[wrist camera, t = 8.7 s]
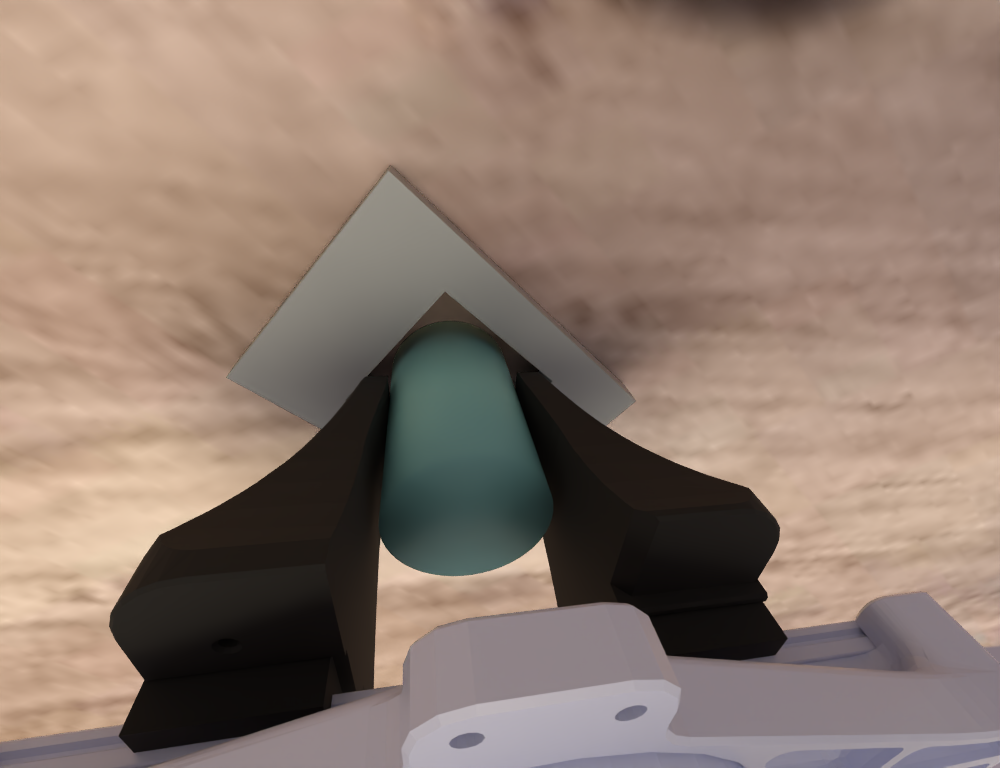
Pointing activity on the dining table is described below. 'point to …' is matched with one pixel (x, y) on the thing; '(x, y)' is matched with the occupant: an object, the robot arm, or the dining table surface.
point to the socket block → (403, 311)
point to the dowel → (458, 457)
